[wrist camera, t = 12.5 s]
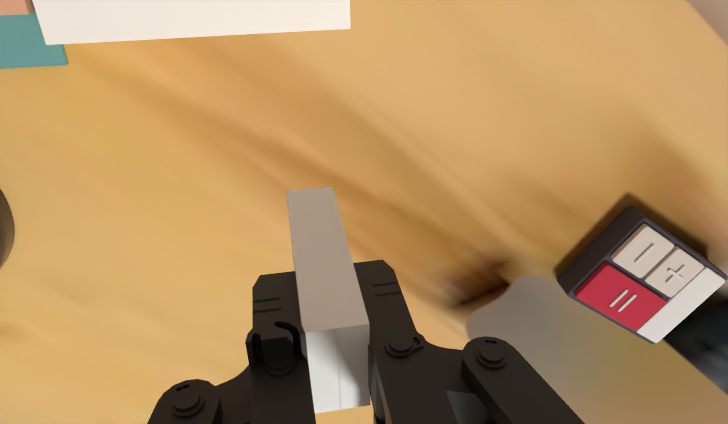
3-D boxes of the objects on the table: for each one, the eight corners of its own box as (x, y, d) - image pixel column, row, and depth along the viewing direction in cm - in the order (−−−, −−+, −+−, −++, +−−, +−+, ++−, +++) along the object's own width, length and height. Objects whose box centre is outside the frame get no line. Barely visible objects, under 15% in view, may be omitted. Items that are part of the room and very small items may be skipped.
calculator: (648, 220, 52) (735, 282, 58) (624, 199, 56) (707, 259, 61) (569, 300, 56) (658, 350, 61) (551, 275, 59) (636, 325, 65)
